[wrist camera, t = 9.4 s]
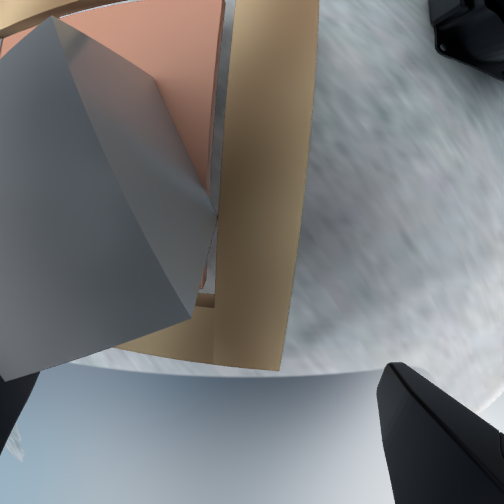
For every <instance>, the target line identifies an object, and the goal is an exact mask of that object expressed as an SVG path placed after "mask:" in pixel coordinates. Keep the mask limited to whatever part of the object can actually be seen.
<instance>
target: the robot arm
mask: <svg viewBox="0 0 504 504" xmlns="http://www.w3.org/2000/svg"><path fill="white" fill-rule="evenodd" d="M430 11H431V22H432V24H433V25H434V34H435V49H436V51H437V52H438V53H439V54H440V55H442V56H445V57H448V58H450V59H453V60H456V61H458V62H461V63H463V64H465V65H468V66H470V67H473V68H475V69H477V70H479V71H482V72H484V73H486V74H488V75H490V76H492V77H495V78H497V79H499V80H501V81H503V82H504V77H503V76H502V72H503V74H504V0H430ZM440 45H442V46H443V47H444V49H445V50H444V51H443V50H442V49H441V48H440ZM39 373H40V371H39V372H36V373H32V374H29V375H26V376H23V377H19V378H16V379H13V380H9V381H6V382H5V381H4V379H3V378H2V377H1V376H0V455H1V452H2V450H3V448H4V446H5V444H6V442H7V439H8V437H9V435H10V433H11V431H12V429H13V427H14V425H15V423H16V421H17V419H18V417H19V415H20V413H21V411H22V409H23V407H24V406H25V404H26V402H27V400H28V398H29V396H30V394H31V391H32V390H33V387H34V385H35V383H36V380H37V378H38V376H39ZM377 402H378V409H379V417H380V426H381V434H382V442H383V447H384V452H385V457H386V461H387V466H388V470H389V475H390V480H391V484H392V490H393V495H394V500H395V504H504V434H503V433H501V432H500V433H499V430H497V429H496V428H494V427H493V426H492V425H490V424H489V423H487V422H486V421H485V420H483V419H481V418H480V417H479V416H478V415H476V414H475V413H473V412H472V411H471V410H469V409H468V408H466V407H465V406H464V405H462V404H461V403H459V402H458V401H457V400H455V399H454V398H452V397H451V396H449V395H448V394H447V393H445V392H444V391H442V390H441V389H440V388H438V387H437V386H435V385H434V384H433V383H431V382H430V381H428V380H427V379H426V378H424V377H423V376H421V375H420V374H419V373H417V372H416V371H414V370H413V369H412V368H410V367H409V366H407V365H406V364H405V363H403V362H390V363H388V364H387V365H386V367H385V369H384V371H383V374H382V377H381V379H380V382H379V384H378V387H377Z"/></svg>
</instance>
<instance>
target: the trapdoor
mask: <svg viewBox="0 0 504 504" xmlns="http://www.w3.org/2000/svg"><path fill="white" fill-rule="evenodd" d="M225 5H226V4H225V0H143V1H136V2H129V3H123V4H118V5H112V6H107V7H103V8H98V9H93V10H89V11H85V12H81V13H77V14H73V15H70V16H66V17H63V18H59V20H61V21H63V22H65V23H67V24H68V25H70V26H72V27H74V28H75V29H77V30H79V31H81V32H82V33H84V34H86V35H87V36H89V37H91V38H92V39H94V40H96V41H97V42H99V43H101V44H102V45H104V46H106V47H107V48H109V49H111V50H112V51H114V52H115V53H117V54H119V55H120V56H122V57H123V58H125V59H126V60H128V61H130V62H131V63H133V64H134V65H136V66H137V67H139V68H140V69H142V70H143V71H145V72H146V73H148V74H149V75H151V76H152V77H153V78H154V80H155V82H156V85H157V87H158V89H159V91H160V93H161V96H162V98H163V100H164V102H165V104H166V107H167V109H168V111H169V113H170V115H171V118H172V120H173V122H174V124H175V126H176V128H177V131H178V133H179V135H180V137H181V139H182V141H183V144H184V146H185V148H186V150H187V152H188V154H189V156H190V159H191V161H192V163H193V165H194V167H195V169H196V171H197V174H198V176H199V178H200V180H201V182H202V184H203V186H204V188H205V191H206V193H207V195H208V197H209V192H210V174H211V157H212V142H213V128H214V115H215V102H216V91H217V80H218V69H219V59H220V49H221V39H222V30H223V22H224V13H225ZM37 26H38V25H37ZM37 26H35V27H32V28H29V29H26V30H24V31H21V32H18V33H16V34H13V35H11V36H8V37H6V38H4V39H3V38H1V39H0V59H1V58H2V57H3V56H4V55H5V54H6V53H7V52H8V51H9V50H10V49H11V48H12V47H14V46H15V45H16V44H17V43H18V42H19V41H20V40H21V39H23V38H24V37H25V36H26V35H27V34H28V33H30V32H31V31H32V30H33V29H35V28H36V27H37ZM206 268H207V260H206V263H205V267H204V271H203V275H202V279H201V283H200V287H199V289H203V287H204V284H205V281H206Z"/></svg>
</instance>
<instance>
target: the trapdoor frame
mask: <svg viewBox="0 0 504 504" xmlns="http://www.w3.org/2000/svg"><path fill="white" fill-rule="evenodd" d="M121 1H127V0H0V39H1V38H3V39H4V38H6V37H8V36H11V35H13V34H16V33H18V32H21V31H24V30H26V29H29V28H32V27H35V26H37V25H40V24H41V23H42V22H43V21H45V20H46V19H47V18H49V17H50V16H51V15H52V16H54V17H56V18H58V19H59V17H61V16H64V15H68V14H71V13H74V12H78V11H82V10H86V9H89V8H94V7H98V6H102V5H107V4H111V3H116V2H121ZM318 20H319V0H236V6H235V14H234V23H233V33H232V42H231V52H230V63H229V73H228V84H227V96H226V108H225V121H224V134H223V148H222V162H221V178H220V194H219V212H218V232H217V254H216V279H215V295H214V294H204V293H198V295H197V299H196V303H195V307H194V311H193V315H192V319H189V320H186V321H184V322H181V323H178V324H176V325H173V326H170V327H168V328H165V329H162V330H159V331H157V332H154V333H151V334H148V335H146V336H143V337H140V338H137V339H134V340H132V341H129V342H126V343H123V344H120V345H117V346H114V347H113V348H118V349H122V350H127V351H132V352H137V353H143V354H148V355H154V356H159V357H165V358H171V359H178V360H184V361H191V362H198V363H205V364H213V365H221V366H230V367H239V368H249V369H260V370H272V371H279V370H280V364H281V358H282V352H283V346H284V340H285V334H286V327H287V321H288V314H289V308H290V301H291V294H292V287H293V280H294V273H295V266H296V258H297V251H298V243H299V235H300V227H301V219H302V211H303V202H304V193H305V184H306V175H307V165H308V155H309V145H310V134H311V123H312V112H313V99H314V86H315V72H316V57H317V40H318Z"/></svg>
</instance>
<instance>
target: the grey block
mask: <svg viewBox="0 0 504 504" xmlns="http://www.w3.org/2000/svg"><path fill="white" fill-rule="evenodd" d="M217 219H218V216H217V214H216V212H215V210H214V207H213V205H212V203H211V201H210V199H209V197H208V195H207V193H206V191H205V188H204V186H203V184H202V182H201V180H200V178H199V176H198V174H197V171H196V169H195V167H194V165H193V163H192V161H191V159H190V156H189V154H188V152H187V150H186V148H185V146H184V144H183V141H182V139H181V137H180V135H179V133H178V131H177V128H176V126H175V124H174V122H173V120H172V118H171V115H170V113H169V111H168V109H167V107H166V104H165V102H164V100H163V98H162V96H161V93H160V91H159V89H158V87H157V85H156V82H155V80H154V78H153V77H152V76H151V75H149V74H148V73H146V72H145V71H143V70H142V69H140V68H139V67H137V66H136V65H134V64H133V63H131V62H130V61H128V60H126V59H125V58H123V57H122V56H120V55H119V54H117V53H115V52H114V51H112V50H111V49H109V48H107V47H106V46H104V45H102V44H101V43H99V42H97V41H96V40H94V39H92V38H91V37H89V36H87V35H86V34H84V33H82V32H81V31H79V30H77V29H75V28H74V27H72V26H70V25H68V24H67V23H65V22H63V21H61V20H59V19H58V18H56V17H54V16H52V15H51V16H50V17H49V18H47V19H46V20H45V21H43V22H42V23H41V24H40V25H38V26H37V27H36V28H35V29H33V30H32V31H31V32H30V33H28V34H27V35H26V36H25V37H24V38H23V39H21V40H20V41H19V42H18V43H17V44H16V45H15V46H14V47H12V48H11V49H10V50H9V51H8V52H7V53H6V54H5V55H4V56H3V57H2V58H1V59H0V376H1V377H2V378H3V379H4V381H5V382H6V381H9V380H13V379H16V378H19V377H23V376H26V375H29V374H32V373H36V372H39V371H42V370H45V369H48V368H51V367H55V366H57V365H61V364H64V363H67V362H70V361H73V360H76V359H79V358H82V357H85V356H88V355H91V354H94V353H97V352H100V351H103V350H106V349H109V348H111V347H114V346H117V345H120V344H123V343H126V342H129V341H132V340H134V339H137V338H140V337H143V336H146V335H148V334H151V333H154V332H157V331H159V330H162V329H165V328H168V327H170V326H173V325H176V324H178V323H181V322H184V321H186V320H189V319H192V315H193V311H194V307H195V303H196V299H197V295H198V291H199V287H200V283H201V279H202V275H203V271H204V267H205V263H206V260H207V256H208V252H209V248H210V245H211V241H212V237H213V233H214V230H215V226H216V222H217Z"/></svg>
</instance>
